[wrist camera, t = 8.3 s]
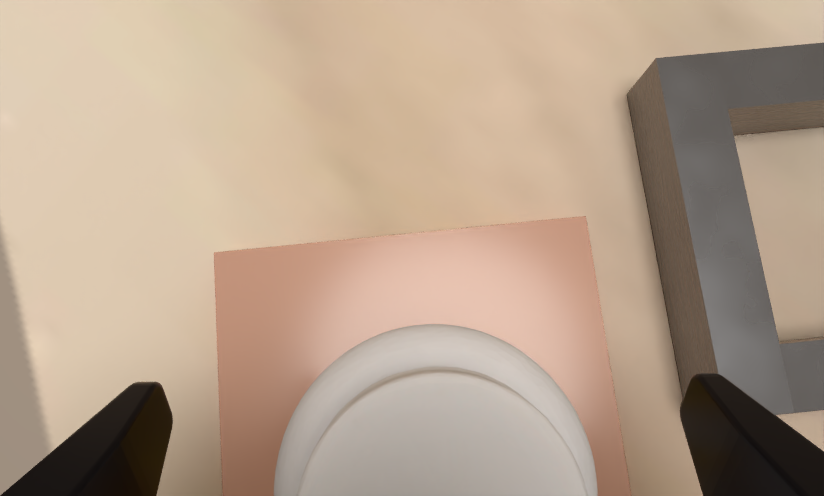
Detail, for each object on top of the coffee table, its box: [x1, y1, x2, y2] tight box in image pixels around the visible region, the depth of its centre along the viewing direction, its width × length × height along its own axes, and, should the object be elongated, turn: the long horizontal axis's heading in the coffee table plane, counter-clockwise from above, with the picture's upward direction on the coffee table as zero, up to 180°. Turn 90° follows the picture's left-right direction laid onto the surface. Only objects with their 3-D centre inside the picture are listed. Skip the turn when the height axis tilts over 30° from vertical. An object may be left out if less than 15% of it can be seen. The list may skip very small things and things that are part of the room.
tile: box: [214, 216, 631, 496], centre depth 18 cm, size 12×12×1 cm
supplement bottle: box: [274, 324, 598, 496], centre depth 13 cm, size 6×6×10 cm
